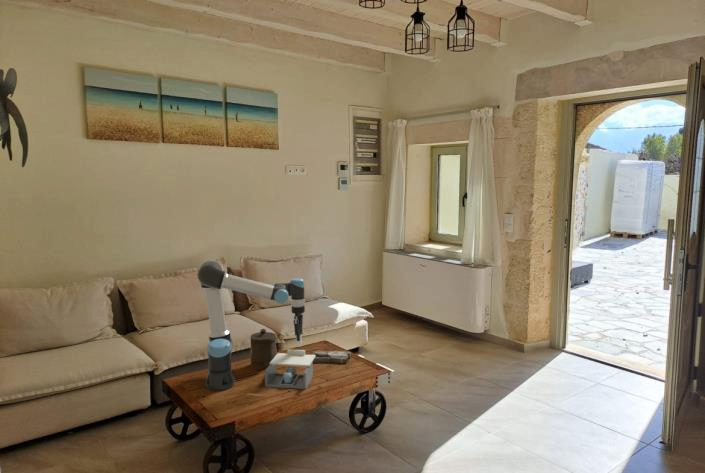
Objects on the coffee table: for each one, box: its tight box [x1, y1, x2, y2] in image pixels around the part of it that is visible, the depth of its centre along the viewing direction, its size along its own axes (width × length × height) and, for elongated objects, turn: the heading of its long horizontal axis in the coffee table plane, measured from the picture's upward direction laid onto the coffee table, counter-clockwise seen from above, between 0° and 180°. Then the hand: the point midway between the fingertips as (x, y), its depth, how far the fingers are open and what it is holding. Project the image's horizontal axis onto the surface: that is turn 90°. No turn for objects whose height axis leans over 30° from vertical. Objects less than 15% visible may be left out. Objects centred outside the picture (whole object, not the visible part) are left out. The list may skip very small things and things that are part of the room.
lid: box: [270, 348, 316, 368], centre depth 263 cm, size 22×15×3 cm
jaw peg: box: [283, 371, 293, 384], centre depth 252 cm, size 5×5×6 cm
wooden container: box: [250, 328, 277, 371], centre depth 281 cm, size 15×15×22 cm
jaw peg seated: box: [285, 366, 297, 379], centre depth 260 cm, size 5×5×6 cm
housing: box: [264, 362, 314, 390], centre depth 256 cm, size 22×16×10 cm
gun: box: [311, 350, 352, 364], centre depth 291 cm, size 4×24×15 cm
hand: (299, 345), depth 275 cm, fingers closed
